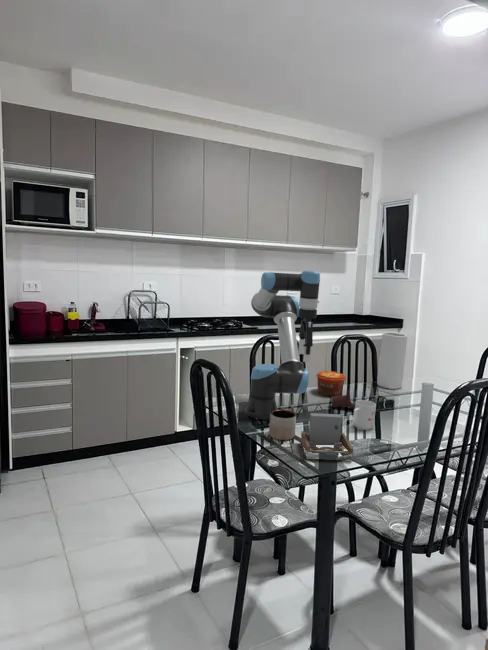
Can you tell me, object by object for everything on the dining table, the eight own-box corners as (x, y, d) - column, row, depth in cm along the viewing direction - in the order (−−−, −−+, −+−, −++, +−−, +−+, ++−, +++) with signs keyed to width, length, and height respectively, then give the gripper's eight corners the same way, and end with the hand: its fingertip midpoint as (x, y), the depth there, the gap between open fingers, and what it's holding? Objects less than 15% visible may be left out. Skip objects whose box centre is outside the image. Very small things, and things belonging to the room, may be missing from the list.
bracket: (369, 408, 222) (366, 388, 225) (333, 411, 225) (331, 391, 228) (368, 409, 228) (365, 389, 231) (333, 412, 231) (331, 392, 234)
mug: (360, 421, 211) (363, 398, 210) (377, 428, 205) (380, 404, 203) (344, 427, 204) (347, 403, 202) (361, 433, 197) (364, 409, 195)
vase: (381, 389, 266) (387, 336, 261) (373, 382, 280) (378, 331, 275) (405, 390, 267) (412, 337, 262) (395, 383, 281) (401, 332, 276)
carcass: (306, 459, 170) (307, 446, 169) (300, 443, 184) (301, 431, 183) (351, 461, 170) (353, 448, 169) (342, 444, 184) (343, 433, 184)
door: (309, 446, 178) (312, 416, 176) (307, 441, 182) (310, 413, 180) (340, 447, 179) (342, 418, 177) (337, 443, 183) (340, 414, 181)
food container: (317, 387, 262) (319, 369, 261) (345, 391, 258) (347, 373, 256) (312, 395, 247) (314, 375, 246) (342, 399, 243) (344, 380, 241)
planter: (292, 431, 196) (294, 409, 194) (296, 441, 185) (298, 419, 184) (267, 430, 195) (269, 408, 194) (269, 440, 185) (271, 417, 183)
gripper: (323, 313, 178) (318, 365, 182) (311, 304, 203) (307, 351, 207) (303, 312, 178) (299, 364, 182) (294, 303, 203) (291, 350, 206)
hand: (303, 357), depth 194 cm, fingers open, 13 cm apart
